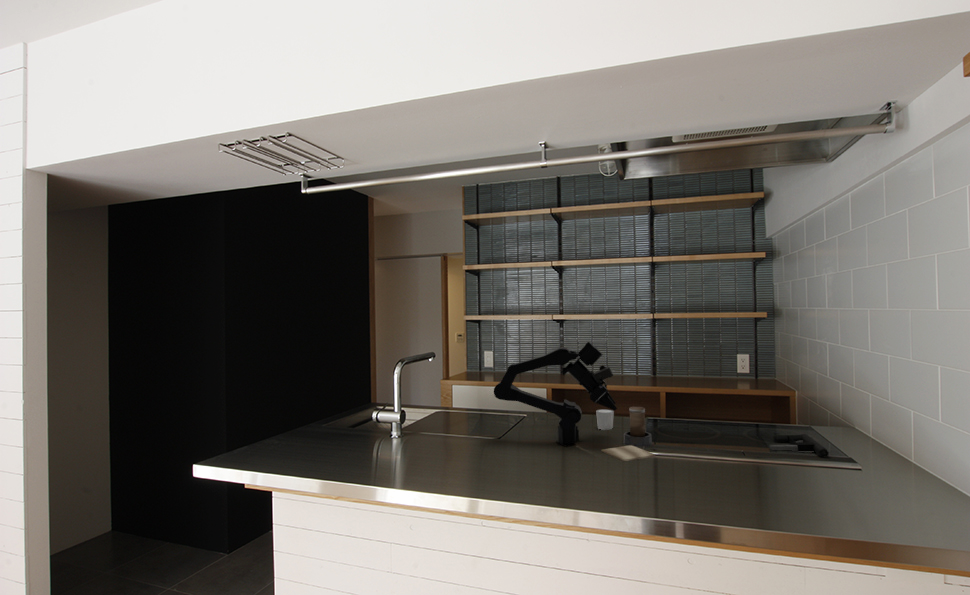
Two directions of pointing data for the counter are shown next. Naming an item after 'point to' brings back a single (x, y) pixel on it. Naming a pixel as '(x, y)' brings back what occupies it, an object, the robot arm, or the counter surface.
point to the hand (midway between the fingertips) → (615, 406)
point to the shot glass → (605, 419)
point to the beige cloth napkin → (628, 453)
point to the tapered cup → (637, 421)
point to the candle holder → (638, 440)
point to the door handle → (799, 444)
